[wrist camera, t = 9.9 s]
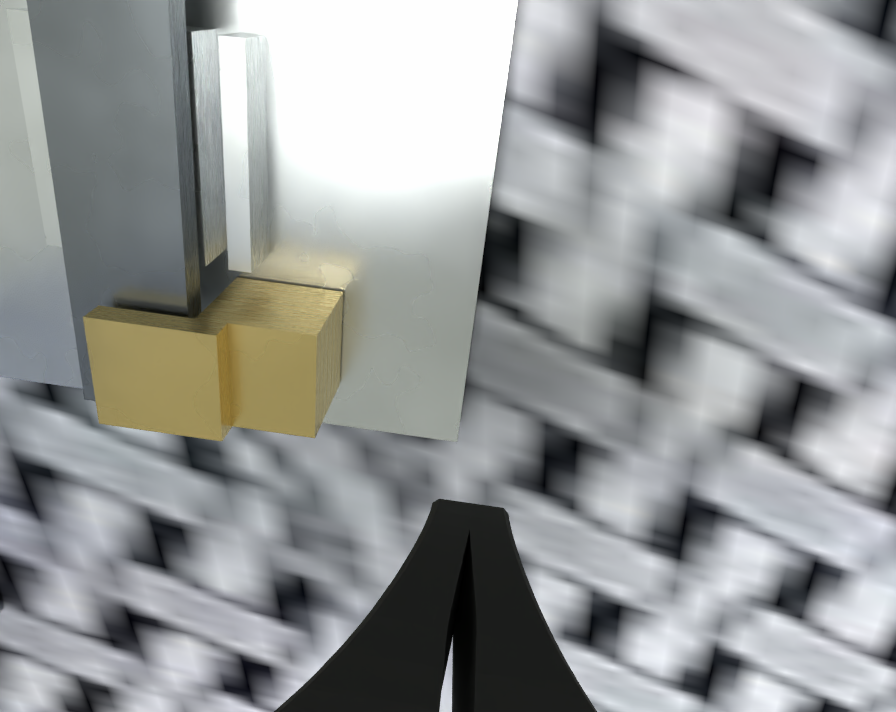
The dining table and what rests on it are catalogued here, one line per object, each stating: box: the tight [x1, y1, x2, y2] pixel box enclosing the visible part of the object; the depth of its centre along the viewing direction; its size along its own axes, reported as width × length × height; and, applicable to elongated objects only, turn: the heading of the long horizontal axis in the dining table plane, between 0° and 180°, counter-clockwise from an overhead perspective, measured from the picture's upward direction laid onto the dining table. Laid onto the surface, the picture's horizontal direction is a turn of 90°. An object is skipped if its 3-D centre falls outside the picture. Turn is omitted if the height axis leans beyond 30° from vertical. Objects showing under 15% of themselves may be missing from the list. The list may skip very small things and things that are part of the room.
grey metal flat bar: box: [26, 0, 202, 401], centre depth 16 cm, size 13×3×1 cm, turn 174°
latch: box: [83, 277, 343, 441], centre depth 18 cm, size 3×5×4 cm, turn 84°
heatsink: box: [0, 0, 518, 442], centre depth 18 cm, size 15×15×3 cm
